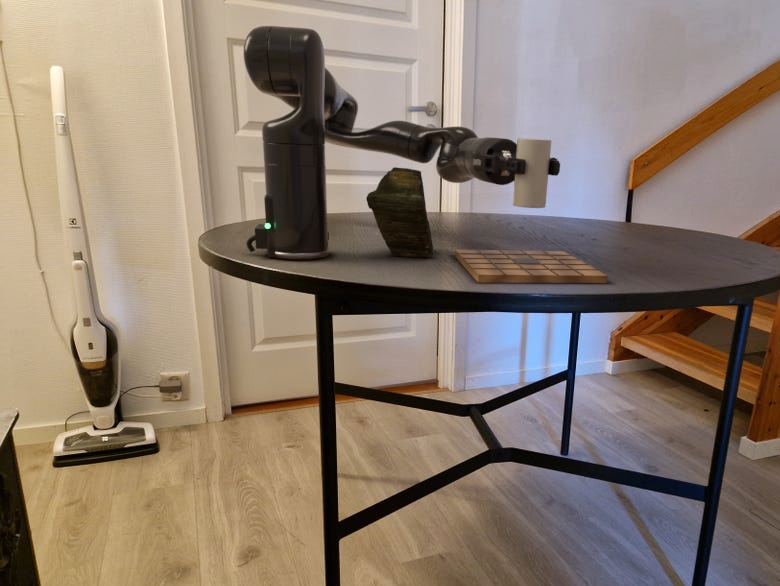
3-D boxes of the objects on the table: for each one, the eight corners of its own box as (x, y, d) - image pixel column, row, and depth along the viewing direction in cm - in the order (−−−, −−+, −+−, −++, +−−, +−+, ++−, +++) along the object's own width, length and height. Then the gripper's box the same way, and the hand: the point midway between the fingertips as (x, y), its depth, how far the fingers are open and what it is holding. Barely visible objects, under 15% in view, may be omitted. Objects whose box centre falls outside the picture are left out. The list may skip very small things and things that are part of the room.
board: (478, 282, 89) (478, 273, 89) (454, 256, 107) (454, 248, 107) (606, 283, 93) (607, 274, 93) (563, 257, 112) (563, 250, 111)
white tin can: (517, 207, 95) (522, 138, 91) (508, 203, 99) (513, 137, 96) (549, 208, 96) (556, 140, 92) (539, 204, 100) (545, 139, 97)
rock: (432, 262, 101) (418, 168, 95) (377, 269, 101) (360, 174, 96) (436, 246, 112) (424, 161, 107) (387, 252, 113) (373, 167, 107)
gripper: (527, 183, 112) (577, 193, 97) (453, 181, 106) (496, 192, 92) (530, 139, 109) (583, 143, 95) (455, 135, 103) (499, 139, 89)
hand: (540, 167), depth 93 cm, fingers closed on white tin can, 5 cm apart
